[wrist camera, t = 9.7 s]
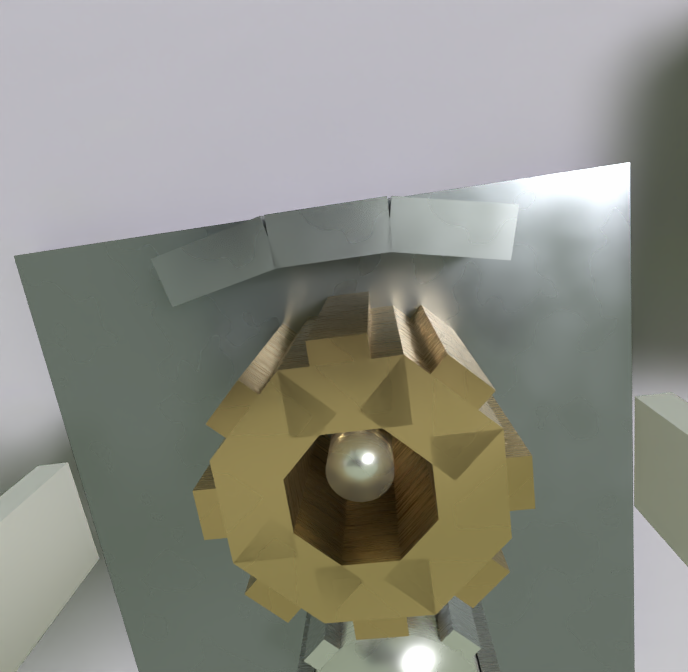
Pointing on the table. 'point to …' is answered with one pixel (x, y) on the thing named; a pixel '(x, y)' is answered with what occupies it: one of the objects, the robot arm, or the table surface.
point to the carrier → (366, 445)
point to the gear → (409, 471)
